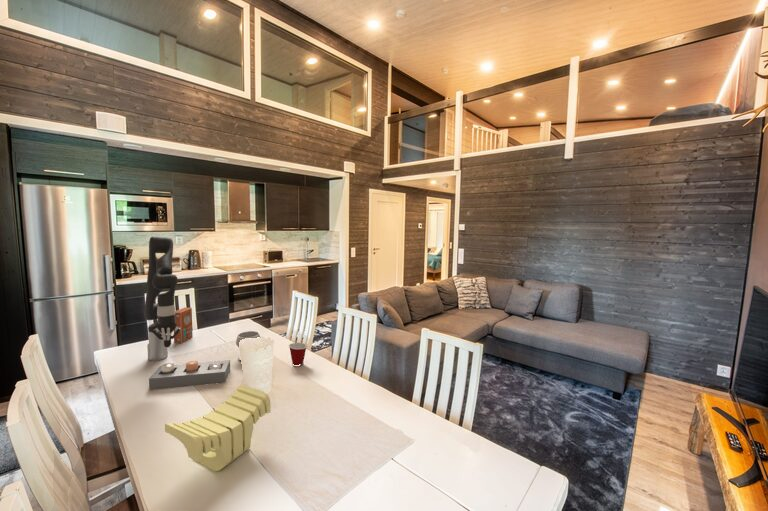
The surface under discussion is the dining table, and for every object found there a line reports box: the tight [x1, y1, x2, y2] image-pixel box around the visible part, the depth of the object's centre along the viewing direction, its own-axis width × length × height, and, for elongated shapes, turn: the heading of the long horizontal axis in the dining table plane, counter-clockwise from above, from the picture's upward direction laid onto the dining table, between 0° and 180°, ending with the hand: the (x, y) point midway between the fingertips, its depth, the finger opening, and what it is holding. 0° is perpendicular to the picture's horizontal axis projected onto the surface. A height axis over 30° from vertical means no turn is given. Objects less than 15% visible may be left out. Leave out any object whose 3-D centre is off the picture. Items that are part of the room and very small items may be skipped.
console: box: [148, 359, 231, 391], centre depth 172 cm, size 34×15×6 cm, turn 106°
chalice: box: [235, 330, 261, 362], centre depth 201 cm, size 14×14×15 cm
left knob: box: [160, 362, 175, 374], centre depth 169 cm, size 6×6×5 cm
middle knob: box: [185, 360, 199, 372], centre depth 172 cm, size 6×6×5 cm
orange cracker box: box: [173, 307, 194, 344], centre depth 227 cm, size 21×7×15 cm
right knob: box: [209, 364, 221, 370], centre depth 175 cm, size 6×6×5 cm
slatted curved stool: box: [164, 383, 271, 472], centre depth 117 cm, size 30×16×18 cm, turn 154°
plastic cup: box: [288, 342, 308, 365], centre depth 193 cm, size 11×11×12 cm
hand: (167, 346), depth 168 cm, fingers closed
